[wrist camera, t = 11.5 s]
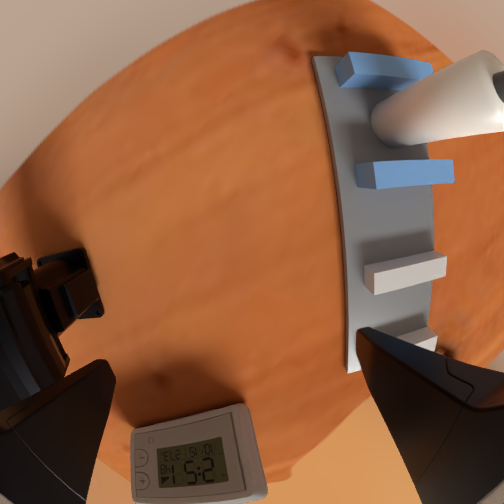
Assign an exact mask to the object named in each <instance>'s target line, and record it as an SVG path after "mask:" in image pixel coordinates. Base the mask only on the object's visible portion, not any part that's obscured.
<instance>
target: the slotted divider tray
mask: <svg viewBox="0 0 504 504" xmlns="http://www.w3.org/2000/svg"><path fill="white" fill-rule="evenodd" d="M311 61H312V65H313V69H314V72H315V77H316V81H317V85H318V89H319V94H320V98H321V103H322V107H323V112H324V117H325V122H326V127H327V133H328V138H329V144H330V150H331V156H332V162H333V169H334V176H335V183H336V190H337V198H338V207H339V216H340V226H341V237H342V249H343V263H344V281H345V309H346V360H345V369H346V371H347V373H351V372H355V371H359V370H362V369H361V366H360V363H359V361H358V358H357V355H356V331H357V329H360V328H364V327H371V328H373V329H376V330H378V331H381V332H383V333H386V334H388V335H391V336H394V337H396V338H399V339H401V340H404V341H407V342H409V343H412V344H414V345H417V346H420V347H422V348H425V349H428V350H430V351H434V350H435V346H436V341H437V335H436V334H435V333H434V332H433V331H432V330H431V329H430V328H428V327H427V325H428V318H429V310H430V302H431V292H432V280H434V279H437V278H441V277H444V276H446V264H447V256H445V255H443V254H441V253H439V252H436V251H434V210H433V193H432V184H444V183H455V180H454V170H453V161H452V160H429V155H428V148H427V143H421V144H416V145H411V146H406V147H401V148H391V147H389V146H387V145H385V144H383V143H382V142H381V141H380V140H379V139H378V138H377V136H376V135H375V133H374V131H373V129H372V126H371V112H372V110H373V108H374V107H375V105H377V104H378V103H380V102H381V101H383V100H385V99H387V98H388V97H390V96H392V95H394V94H396V93H397V92H399V91H401V90H403V89H405V88H407V87H408V86H410V85H412V84H414V83H416V82H418V81H420V80H422V79H423V78H425V77H427V76H429V75H431V74H433V73H434V72H433V69H432V66H431V63H427V62H423V61H418V60H413V59H407V58H402V57H395V56H388V55H381V54H372V53H362V52H348V53H347V54H346V55H345V56H344V57H343V56H313V58H312V60H311Z"/></svg>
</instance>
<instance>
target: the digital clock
mask: <svg viewBox="0 0 504 504" xmlns="http://www.w3.org/2000/svg"><path fill="white" fill-rule="evenodd" d="M130 461H131V491H132V498H133V500H134V502H135V504H241V503H247V502H254V501H258V500H261V499H264V498H265V497H266V496H267V493H268V489H267V483H266V479H265V475H264V470H263V466H262V462H261V458H260V453H259V449H258V445H257V440H256V436H255V432H254V427H253V422H252V418H251V414H250V411H249V408H248V407H247V406H246V405H245V404H243V403H238V404H234V405H230V406H227V407H224V408H220V409H213V410H209V411H206V412H202V413H199V414H195V415H191V416H187V417H183V418H179V419H175V420H171V421H166V422H161V423H157V424H154V425H151V426H146V427H141V428H137V429H134V430H133V431H132V432H131V446H130Z"/></svg>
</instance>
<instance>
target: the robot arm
mask: <svg viewBox="0 0 504 504" xmlns="http://www.w3.org/2000/svg"><path fill="white" fill-rule="evenodd" d="M80 252H81V253H82V256H81V255H80ZM41 262H42V264H41ZM37 265H38V268H37V269H35V270H33V268H32V260H31V257H30V258H26V259H24V258H21V257H19V256H18V255H17V254H16V253H15V252H13V253H10V254H8V255H6V256H3V257H1V258H0V504H86V500H87V494H88V490H89V486H90V481H91V477H92V473H93V469H94V465H95V461H96V457H97V453H98V450H99V446H100V443H101V439H102V436H103V432H104V429H105V426H106V422H107V419H108V416H109V412H110V407H111V402H112V398H113V393H114V388H115V384H116V378H115V375H114V373H113V371H112V369H111V367H110V365H109V363H108V361H107V360H105V359H97V360H95V361H93V362H91V363H89V364H88V365H86V366H84V367H82V368H80V369H79V370H77V371H75V372H73V373H71V374H70V375H68V376H66V377H64V376H65V373H66V370H67V367H68V365H69V362H70V358H69V356H68V354H66V353H65V351H64V349H63V346H62V344H61V342H60V340H59V338H58V337H59V336H60V335H61V334H62V333H63V332H64V331H65V330H66V329H67V328H68V327H70V326H71V325H72V324H73V323H74V322H75V321H76V320H77V319H86V318H99V317H102V316H103V315H104V309H103V306H102V303H101V300H100V297H99V293H98V290H97V287H96V284H95V281H94V277H93V274H92V271H91V269H90V265H89V261H88V258H87V254H86V251H85V249H84V248H77V249H73V250H69V251H65V252H61V253H57V254H53V255H49V256H45V257H41V258H39V259H38V260H37ZM98 310H99V311H100V313H99V312H98ZM356 355H357V358H358V361H359V363H360V366H361V369H362V372H363V374H364V377H365V380H366V383H367V386H368V388H369V390H370V393H371V395H372V397H373V399H374V401H375V403H376V404H377V406H378V409H379V411H380V413H381V415H382V417H383V419H384V421H385V423H386V425H387V427H388V429H389V431H390V433H391V435H392V437H393V439H394V441H395V444H396V446H397V448H398V450H399V452H400V454H401V456H402V458H403V461H404V463H405V465H406V467H407V470H408V472H409V474H410V476H411V478H412V481H413V483H414V485H415V488H416V490H417V492H418V494H419V497H420V499H421V502H422V504H504V373H503V372H498V371H494V370H490V369H486V368H482V367H478V366H474V365H470V364H467V363H464V362H461V361H458V360H455V359H452V358H450V357H446V358H445V356H444V355H441V354H438V353H436V352H433V351H430V350H428V349H425V348H422V347H420V346H417V345H414V344H412V343H409V342H407V341H404V340H401V339H399V338H396V337H394V336H391V335H388V334H386V333H383V332H381V331H378V330H376V329H373V328H371V327H364V328H360V329H357V331H356Z"/></svg>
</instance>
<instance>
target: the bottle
mask: <svg viewBox="0 0 504 504" xmlns="http://www.w3.org/2000/svg"><path fill="white" fill-rule="evenodd" d="M371 126H372V129H373V131H374V133H375V135H376V136H377V138H378V139H379V140H380V141H381V142H382V143H383V144H385V145H387V146H389V147H391V148H401V147H406V146H411V145H416V144H421V143H427V142H432V141H438V140H444V139H450V138H456V137H463V136H470V135H477V134H485V133H493V132H502V131H504V64H503V63H502V62H501V61H500V60H499V59H498V58H497V57H496V56H495V55H493V54H492V53H490V52H488V51H485V50H482V51H479V52H477V53H475V54H473V55H470V56H468V57H466V58H464V59H462V60H460V61H457V62H455V63H453V64H451V65H449V66H447V67H445V68H443V69H441V70H439V71H437V72H435V73H433V74H431V75H429V76H427V77H425V78H423V79H422V80H420V81H418V82H416V83H414V84H412V85H410V86H408V87H407V88H405V89H403V90H401V91H399V92H397V93H396V94H394V95H392V96H390V97H388V98H387V99H385V100H383V101H381V102H380V103H378V104H377V105H375V107H374V108H373V110H372V112H371Z"/></svg>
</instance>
